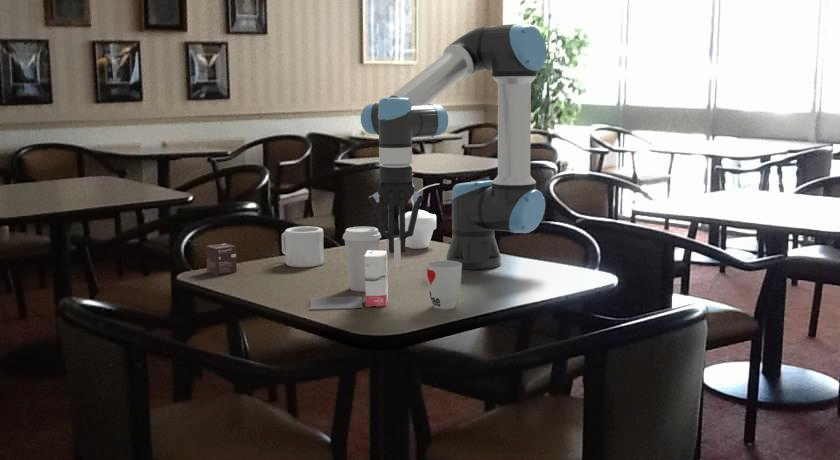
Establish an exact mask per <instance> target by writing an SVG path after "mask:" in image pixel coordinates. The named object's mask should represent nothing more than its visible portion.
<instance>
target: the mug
mask: <svg viewBox="0 0 840 460" xmlns="http://www.w3.org/2000/svg"><path fill="white" fill-rule="evenodd" d="M324 251H325V250H324V229H323V228H322V227H319V226H308V225H307V226H305V225H304V226H303V225H302V226H293V227H289V228H286V229H285V231H284V232H283V233H281V252H282V254H284V255H285V264H286V265H287V266H288V267H293V268H314V267H318V266H321V265H323V264H324V262H325V253H324Z"/></svg>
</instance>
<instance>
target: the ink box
mask: <svg viewBox="0 0 840 460" xmlns="http://www.w3.org/2000/svg"><path fill="white" fill-rule="evenodd" d="M364 259H365V291H364V294H365V306H366V307H367V308H368V307H369V308H370V307H371V306H372V307H373V306H376V307H387V303H388V299H389V279H388V277H389V275H388V273H389V271H388V269H389V267H388V266H389V265H388V264H389V263H388V250H380V249H379V250H367V252H366V254H365V258H364Z"/></svg>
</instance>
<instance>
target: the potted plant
mask: <svg viewBox="0 0 840 460" xmlns="http://www.w3.org/2000/svg"><path fill="white" fill-rule="evenodd" d="M413 175H414V173H413V172H412V176H413ZM412 185H413V187H414V188H415V184H414V183H412ZM437 185H438V186H439V183H434V184H429V185H426V186H424V187H422V188H420V189H419V190H418V191H416V192H417V193H418V194H420V192H421V191H423V190H425V189H427V188H430V187H433V186H437ZM410 200H411V204H412V206H413V205H414V201H413V195H412V197H411V198H410ZM411 213H412V210H411V211H407V212H405V232H406V231H408V226H409V222H410V218H411ZM436 229H437V215H436V214H435V213H434V214H433V213H429V211H426V210H422V209H419V211H418V215H417V219H416V224H415V228H414V232H413V235H412V236H410V237H407V238H406V239H405V245H406V246H407V248H408V249H413V250H415V249H416V250H421V249H426V248H428V247H429V246H430V242H431V239H432V236H433V234H434V230H436Z"/></svg>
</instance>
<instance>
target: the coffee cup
mask: <svg viewBox="0 0 840 460" xmlns="http://www.w3.org/2000/svg"><path fill="white" fill-rule="evenodd" d="M381 238H382V236H381V233H380V230H379V229H378V228H377V227H375V226H353V227H348V228H346V229H345V232H344V233H343V235H342V240H344V246H345V247H344V248H345V253H346V264H347V271H348V280H349V282H348V283H349V289H350V290H351V291H353V292H365V259H364V258H365V254H366V252H367V250H379V251H380V239H381Z"/></svg>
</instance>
